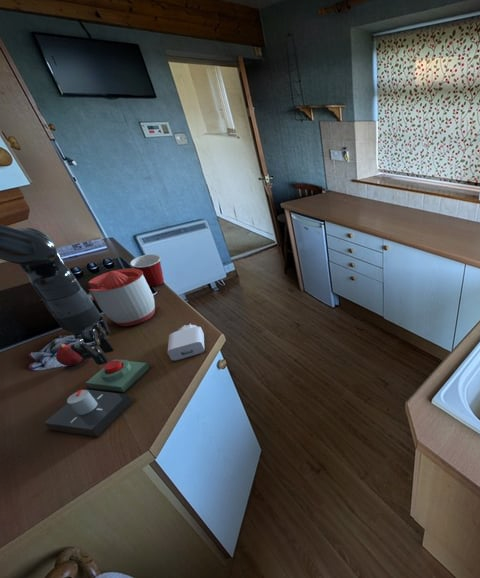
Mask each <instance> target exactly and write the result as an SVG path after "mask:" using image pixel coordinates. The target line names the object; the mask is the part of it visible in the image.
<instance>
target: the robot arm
mask: <svg viewBox="0 0 480 578" xmlns="http://www.w3.org/2000/svg"><path fill="white" fill-rule="evenodd" d="M0 260H2V261H5V262H9V263H12V264H16V265H19V267H20V268H21V269H22V270H23V272H24V273H25V274H26V276H27V278H28V281H29V282H30V284H31V286H32V288H33V289H34V291H35V292H36V293H37V295H38V296H39V298H41V300H42V302H43V303H44V307H46V309H47V310H48V312H49V313H50V314H51V316H52V318H53V319H54V320H55V321H56V322H57V324H58V325H59V327H60V328H61V329H62V330H64V331H66V332H70V333H72V334H73V337H74V339H75V343H74V344H70V345H71V349H72V350H73V351H75V352H76V353H77V354H79V355H80V356H81V357H83V359H84V360H86V359H91V358H92V360H93V361H94V362H95V363H96V365H98V366H101V365H106V364H107V363H109V359H108V358H107V356H106V355H105V354H108V353H113V351H114V350H115V348H114V346H113V344H112V343H111V342H110V336H109V335H110V334H111V330H110V328H109V326H108V323H107V320H106V318H105V316H104V314H101V313H100V311H99V309H98V308H97V307H96V305H95V303H94V302H93V301H92V300H91V299H90V297H89V296H88V294H89V293H87V292H86V291H85V289H84V288H83V287H82V286H81V284H80V282H79V281H78V279H77V278H76V276H75V275H74V273H73V272H72V271H71V270H70V268H69V267H68V266H67V265H66V264H65V262H64V260H63V258H62V256H61V255H60V252H59V251H58V249H57V247H56V244H55V243H54V242H53V240H52V239H51V237H49V235H48V234H47V233H44V232H43V231H41V230H38V229H36V228H32V227H18V228H13V227H11V226H7V225H4V224H0Z"/></svg>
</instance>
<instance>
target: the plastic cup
mask: <svg viewBox="0 0 480 578" xmlns="http://www.w3.org/2000/svg"><path fill="white" fill-rule="evenodd" d="M161 258H162V257H161V255H159V254H151V253H149V254H144V255H140V256H137V257H135V258H133V259H132V260H131V261H130V262H129V265H130V266H131V267H132V268H135V269H140V270H141V271H142V272H143V276H144V278H145V280H146V282H147V284H148V286H149V287H158V286H161V285H162V284H164V282H165V281H164V274H163V270H162V265H161V264H162V263H161Z"/></svg>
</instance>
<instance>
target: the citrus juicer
mask: <svg viewBox="0 0 480 578" xmlns="http://www.w3.org/2000/svg"><path fill="white" fill-rule="evenodd" d="M87 283H88V285H89V287H90V288H89V289H88V291H89V292H88V293H87V294H88V296H89V297H90V299H91V300H92V302H93V301H94V302H95V303H96V304H97V305H98V307H99V308H100V310H101V311H102V312H103V315H105V316H106V317H107V318H109V319H110V320H111V321H112V322H113V323H114V324H117V325H118V326H121V327H131V326H135V325H139V324H141V323H144V322H145V321H147V320H149V319H151V318H152V317H153V316H154V314H155V311H156V303H155V297H154V295H153V292H152V290H151V288H150V286H149V285H148V284H147V282H146V280H145V278H144V276H143V272H142V271H141V270H140V269H135V268H134V267H129V268H128V267H127V268H121V269H115V270H110V271H108V272H105V273H102V274H100V275H97V276H95V277H93V278H91V279H90V280H89V281H88V282H87Z"/></svg>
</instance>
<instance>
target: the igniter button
mask: <svg viewBox="0 0 480 578" xmlns="http://www.w3.org/2000/svg"><path fill="white" fill-rule="evenodd" d="M118 360H119V359H115V361H113V360H111V361H108V362H107V363H106V364H104V366H103V368H104V369H105V371H106V372H107V373H108V374H111V373H115V372H117V371H119V370H120V369H121V368H122V367H123V366H122V364H121V362H120V361H118Z"/></svg>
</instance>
